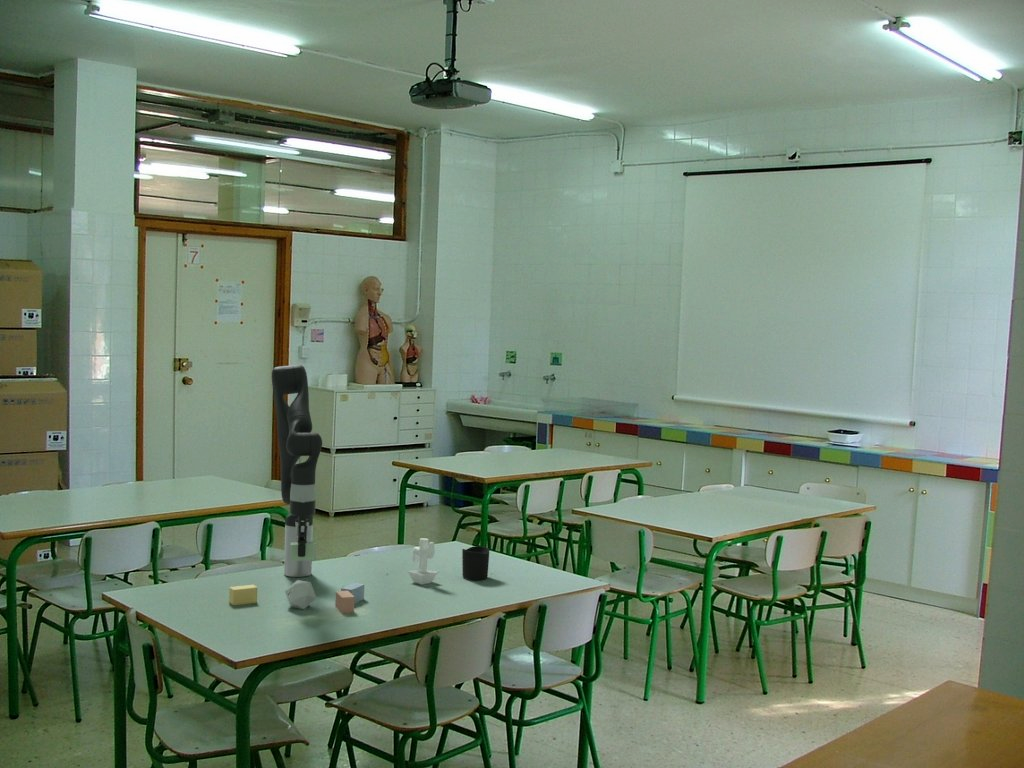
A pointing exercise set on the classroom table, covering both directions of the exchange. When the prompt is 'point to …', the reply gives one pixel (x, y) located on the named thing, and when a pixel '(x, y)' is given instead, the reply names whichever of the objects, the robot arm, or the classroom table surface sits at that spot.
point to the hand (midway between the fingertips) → (301, 554)
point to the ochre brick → (243, 594)
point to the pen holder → (475, 563)
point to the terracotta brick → (344, 601)
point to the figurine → (423, 562)
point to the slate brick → (355, 591)
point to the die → (300, 594)
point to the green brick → (309, 552)
